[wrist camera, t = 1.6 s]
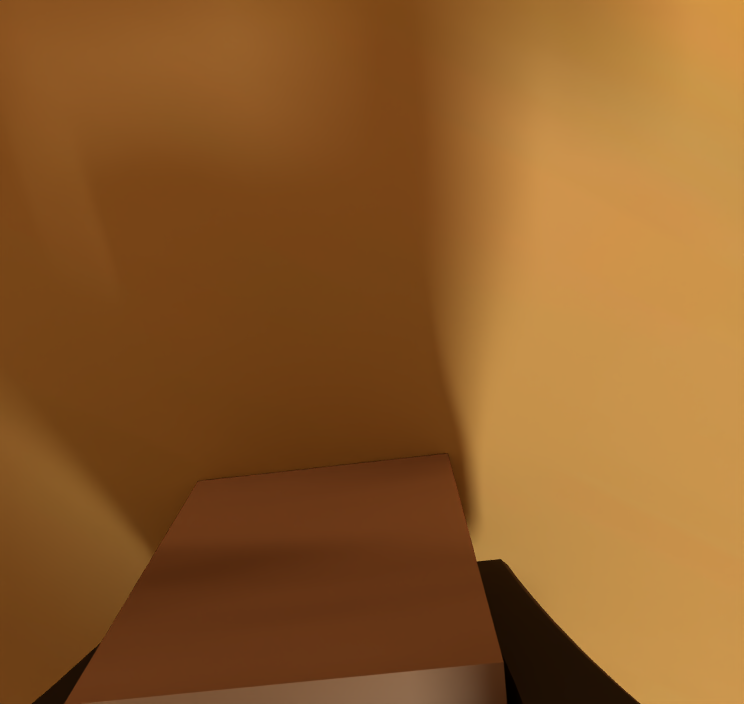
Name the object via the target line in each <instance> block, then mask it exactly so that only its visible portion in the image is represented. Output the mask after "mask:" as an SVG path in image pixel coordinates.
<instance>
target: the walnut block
mask: <svg viewBox="0 0 744 704" xmlns="http://www.w3.org/2000/svg"><path fill="white" fill-rule="evenodd" d="M64 704H507V697H506V685H505V673H504V662H503V658H502V654H501V650H500V647H499V643H498V639H497V636H496V632H495V628H494V624H493V621H492V617H491V613H490V609H489V606H488V602H487V598H486V594H485V591H484V587H483V583H482V579H481V576H480V572H479V568H478V564H477V561H476V557H475V553H474V550H473V546H472V542H471V538H470V535H469V531H468V527H467V523H466V520H465V516H464V512H463V508H462V505H461V501H460V497H459V493H458V490H457V486H456V482H455V479H454V475H453V471H452V467H451V464H450V460H449V456H448V453H447V454H438V455H429V456H420V457H411V458H402V459H393V460H384V461H375V462H366V463H357V464H348V465H339V466H330V467H321V468H312V469H303V470H294V471H285V472H276V473H267V474H258V475H249V476H240V477H231V478H222V479H213V480H204V481H198V482H197V484H196V485H195V487H194V489H193V490H192V492H191V494H190V495H189V497H188V499H187V500H186V502H185V504H184V505H183V507H182V509H181V510H180V512H179V514H178V515H177V517H176V519H175V520H174V522H173V524H172V525H171V527H170V529H169V530H168V532H167V534H166V535H165V537H164V539H163V540H162V542H161V544H160V545H159V547H158V549H157V550H156V552H155V554H154V555H153V557H152V559H151V560H150V562H149V564H148V565H147V567H146V569H145V570H144V572H143V574H142V575H141V577H140V579H139V580H138V582H137V584H136V585H135V587H134V589H133V590H132V592H131V594H130V595H129V597H128V599H127V600H126V602H125V604H124V605H123V607H122V609H121V610H120V612H119V614H118V615H117V617H116V619H115V620H114V622H113V624H112V625H111V627H110V629H109V630H108V632H107V633H106V635H105V637H104V638H103V640H102V642H101V643H100V645H99V647H98V648H97V650H96V652H95V653H94V655H93V657H92V658H91V660H90V662H89V663H88V665H87V667H86V668H85V670H84V672H83V673H82V675H81V677H80V678H79V680H78V682H77V683H76V685H75V687H74V688H73V690H72V692H71V693H70V695H69V697H68V698H67V700H66V702H65V703H64Z"/></svg>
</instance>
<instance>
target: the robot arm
mask: <svg viewBox="0 0 744 704" xmlns="http://www.w3.org/2000/svg"><path fill="white" fill-rule="evenodd" d="M477 564H478V568H479V572H480V576H481V579H482V583H483V587H484V591H485V594H486V598H487V602H488V606H489V609H490V613H491V617H492V621H493V624H494V628H495V632H496V636H497V639H498V643H499V647H500V650H501V654H502V658H503V662H504V673H505V685H506V697H507V704H640V703H639V702H638V701H636V700H635V699H634V698H633V697H632V696H631V695H629V694H628V693H627V692H626V691H625V690H624V689H623V688H622V687H620V686H619V685H618V684H617V683H616V682H615V681H614V680H613V679H612V678H611V677H610V676H608V675H607V674H606V673H605V672H604V671H603V670H602V669H601V668H600V667H599V666H598V665H597V664H596V663H595V662H593V661H592V660H591V659H590V658H589V657H588V656H587V655H586V654H585V653H584V652H583V651H582V650H581V649H580V648H579V647H578V646H577V645H576V644H575V643H574V642H573V640H572V639H571V638H570V637H569V636H568V635H567V634H566V633H565V632H564V631H563V630H562V629H561V628H560V627H559V626H558V625H557V624H556V623H555V622H554V621H553V619H552V618H551V617H550V616H549V615H548V614H547V613H546V612H545V611H544V609H543V608H542V607H541V606H540V605H539V604H538V603H537V601H536V600H535V599H534V598H533V597H532V596H531V594H530V593H529V592H528V591H527V589H526V588H525V587H524V586H523V585H522V583H521V582H520V581H519V580H518V578H517V577H516V576H515V574H514V573H513V572H512V570H511V569H510V568H509V566H508V565H507V564H506V563H505V562H503V561H502V560H501V559H498V560H488V561H478V562H477ZM99 645H100V644H99ZM99 645H98V646H97V647H96V648H94V649H93V650H92V651H91V652H90V653H89V654H88V655H87V656H86V657H84V658H83V659H82V660H81V661H80V662H79V663H78V664H77V665H76V666H75V667H73V668H72V669H71V670H70V671H69V672H68V673H67V674H66V675H65V676H64V677H62V678H61V679H60V680H59V681H58V682H57V683H56V684H55V685H53V686H52V687H51V688H50V689H49V690H48V691H46V692H45V693H44V694H43V695H42V696H40V697H39V698H38V699H37V700H36V701H35V702H33V703H32V704H64V703H65V702H66V700H67V698H68V697H69V695H70V693H71V692H72V690H73V688H74V687H75V685H76V683H77V682H78V680H79V678H80V677H81V675H82V673H83V672H84V670H85V668H86V667H87V665H88V663H89V662H90V660H91V658H92V657H93V655H94V653H95V652H96V650H97V648H98V647H99Z"/></svg>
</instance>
